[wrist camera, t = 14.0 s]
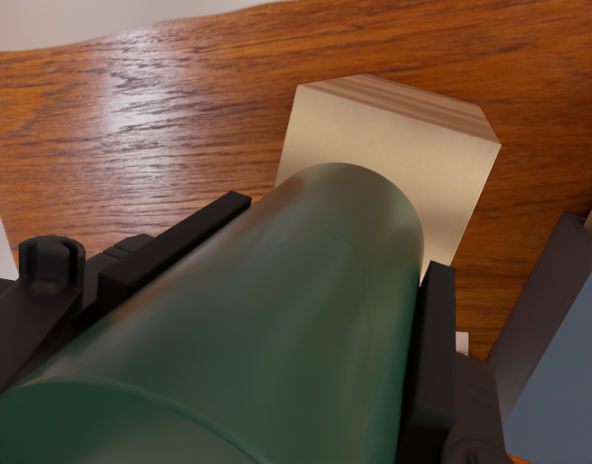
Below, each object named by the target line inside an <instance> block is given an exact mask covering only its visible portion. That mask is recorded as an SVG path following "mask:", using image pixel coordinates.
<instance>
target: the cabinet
mask: <svg viewBox="0 0 592 464" xmlns="http://www.w3.org/2000/svg"><path fill="white" fill-rule="evenodd" d="M586 219H587V218H584V217H581V216H578V215H575V214H571V213H568V212H565V211H564V212H563V213H562V215H561V217H560V219H559V221H558V223H557V225H556V227H555V229H554V231H553V233H552V235H551V236H550V238H549V240H548V242H547V244H546V246H545V248H544V250H543V252H542V254H541V256H540V258H539V260H538V262H537V264H536V265H535V267H534V269H533V271H532V273H531V275H530V277H529V279H528V281H527V283H526V285H525V287H524V289H523V291H522V293H521V294H520V296H519V298H518V300H517V302H516V304H515V306H514V308H513V310H512V312H511V314H510V316H509V318H508V320H507V321H506V323H505V325H504V327H503V329H502V331H501V333H500V335H499V337H498V339H497V341H496V343H495V345H494V347H493V349H492V350H491V352H490V354H489V356H488V358H487V360H486V364H487V365H488V367H489V369H490V370H491V372H492V373H493V375H494V377H495V378H496V383H497V391H498V395H497V397H498V398H499V405H500V407H499V410H500V413H501V420H502V428H503V435H504V443H505V450H506V452H508V453H510V454H513V455H515V456H517V457H520V458H522V459H525V460H527V461H529V462H532V463H534V464H592V237H591V236H590V234H589V233H588V232H587V230H586V229H585V228H584V227H583V225H584V223H585V221H586Z"/></svg>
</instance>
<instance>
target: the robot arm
mask: <svg viewBox="0 0 592 464" xmlns="http://www.w3.org/2000/svg"><path fill="white" fill-rule="evenodd" d="M251 200H252V198H251V197H249V196H246V195H243V194H240V193H237V192H234V191H230V192H228V193H227V194H225V195H223V196H222V197H220V198H218V199H217V200H215V201H214V202H212V203H210V204H209V205H207V206H205V207H204V208H202V209H201V210H199V211H197V212H196V213H194V214H192V215H191V216H189V217H188V218H186V219H184V220H183V221H181V222H179V223H178V224H176V225H175V226H173V227H171V228H170V229H168V230H166V231H165V232H163V233H162V234H160V235H158V236H157V237H155V238H154V237H151V236H149V235H146V234H141V235H137V236H132V237H128V238H125V239H124V240H122V241H120V242H118V243H116V244H115V245H114V246H113V247H109V248H108V249H106V250H104V251H103V253H101V252H100V253H99V254H97V255H95V256H93V257H92V258H90V259H88V260H86V261H85V256H86V251H85V248H84V246H83V245H82V244H81V243H79V242H78V241H76V240H73V239H70V238H67V237H61V236H39V237H35V238H31V239H27V240H25V241H23V242H22V243H20V244H19V278H18V279H17V280H16V281H13V280H8V279H1V278H0V395H1V394H2V393H3V392H5V391H6V390H7V389H9V388H10V387H11V386H13V385H14V384H15V383H16V382H18V381H19V380H20V379H22V378H23V377H24V376H26V375H27V374H28V373H30V372H31V371H32V370H34V369H35V368H36V367H38V366H39V365H40V364H42V363H43V362H44V361H46V360H47V359H48V358H50V357H51V356H52V355H54V354H55V353H56V352H58V351H59V350H60V349H62V348H63V347H64V346H66V345H67V344H68V343H70V342H71V341H72V340H74V339H75V338H76V337H78V336H79V335H80V334H82V333H83V332H84V331H86V330H87V329H88V328H90V327H91V326H92V325H94V324H95V323H96V322H98V321H99V320H100V319H102V318H103V317H104V316H106V315H107V314H108V313H110V312H111V311H112V310H113V309H115V308H116V307H117V306H119V305H120V304H121V303H123V302H124V301H125V300H127V299H128V298H129V297H131V296H132V295H133V294H135V293H136V292H137V291H139V290H140V289H141V288H143V287H144V286H145V285H147V284H148V283H149V282H151V281H152V280H153V279H155V278H156V277H157V276H159V275H160V274H161V273H163V272H164V271H165V270H167V269H168V268H169V267H171V266H172V265H173V264H175V263H176V262H177V261H179V260H180V259H181V258H183V257H184V256H185V255H187V254H188V253H189V252H191V251H192V250H193V249H195V248H196V247H197V246H199V245H200V244H201V243H203V242H204V241H205V240H206V239H208V238H209V237H210V236H212V235H213V234H214V233H216V232H217V231H218V230H220V229H221V228H222V227H224V226H225V225H226V224H228V223H229V222H230V221H232V220H233V219H234V218H236V217H237V216H238V215H240V214H241V213H242V212H244V211H245V210H246V209H248V208H249V207H250V205H251ZM497 395H498V391H497V383H496V378H495V377H494V375H493V373H492V372H491V370H490V369H489V367H488V365H487V364H486V362H483V361H480V360H478V359H475V358H472V357H470V356H467V355H465V354H462V353H459V352H457V351H456V299H455V268H453V267H450V266H447V265H444V264H441V263H438V262H435V261H433V260H430V263H429V265H428V268H427V270H426V273H425V275H424V277H423V280H422V282H421V285H420V287H419V294H418V302H417V309H416V316H415V323H414V330H413V337H412V344H411V351H410V359H409V366H408V373H407V380H406V387H405V394H404V401H403V409H402V416H401V423H400V430H399V437H398V444H397V451H396V458H395V464H515V463H514V462H513V461H512V460H511V458H510V457H509V456H508V455H507V454H506V450H505V443H504V435H503V428H502V420H501V413H500V410H499V407H500V405H499V398H498V397H497Z"/></svg>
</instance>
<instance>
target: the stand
mask: <svg viewBox="0 0 592 464" xmlns="http://www.w3.org/2000/svg"><path fill="white" fill-rule="evenodd" d="M500 147H501V143H500V142H499V140H498V138H497V136H496V135H495V133H494V131H493V129H492V128H491V126H490V124H489V122H488V121H487V119H486V117H485V115H484V113H483V112H482V110H481V108H480V106H479V105H477V104H473V103H470V102H466V101H463V100H459V99H455V98H452V97H448V96H445V95H441V94H438V93H434V92H430V91H427V90H423V89H420V88H416V87H413V86H409V85H405V84H402V83H398V82H395V81H391V80H388V79H384V78H380V77H377V76H373V75H370V74H366V73H365V74H360V75H354V76H348V77H342V78H336V79H330V80H324V81H318V82H312V83H306V84H300V85H298V86H297V89H296V93H295V98H294V102H293V106H292V111H291V115H290V119H289V123H288V128H287V132H286V136H285V141H284V145H283V149H282V154H281V158H280V162H279V167H278V171H277V175H276V179H275V184H274V188H276V187H277V186H278V185H280V184H281V183H282V182H284V181H285V180H286V179H288V178H289V177H290V176H292V175H294V174H295V173H297V172H298V171H301V170H303V169H305V168H307V167H310V166H314V165H317V164H323V163H337V162H340V163H349V164H354V165H358V166H362V167H365V168H368V169H370V170H373V171H375V172H377V173H378V174H380V175H382V176H384V177H385V178H387V179H388V180H389V181H391V182H392V183H394V184H395V185H396V186H397V187H398V188H399V189H400V190H401V191H402V192H403V193H404V195H405V196H406V197H407V198H408V199H409V201H410V202H411V204H412V206H413V207H414V209H415V211H416V213H417V215H418V217H419V220H420V223H421V226H422V230H423V235H424V259H423V266H422V273H421V280H420V285H421V282H422V280H423V277H424V275H425V273H426V270H427V268H428V265H429V263H430V260H433V261H435V262H438V263H441V264H444V265H447V266H450V264H451V261H452V259H453V257H454V254H455V252H456V250H457V247H458V245H459V243H460V240H461V238H462V236H463V233H464V231H465V229H466V226H467V224H468V222H469V219H470V217H471V215H472V212H473V210H474V208H475V206H476V203H477V201H478V199H479V196H480V194H481V192H482V189H483V187H484V185H485V182H486V180H487V178H488V175H489V173H490V171H491V168H492V166H493V164H494V161H495V159H496V157H497V154H498V152H499V150H500ZM274 188H273V189H274Z"/></svg>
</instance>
